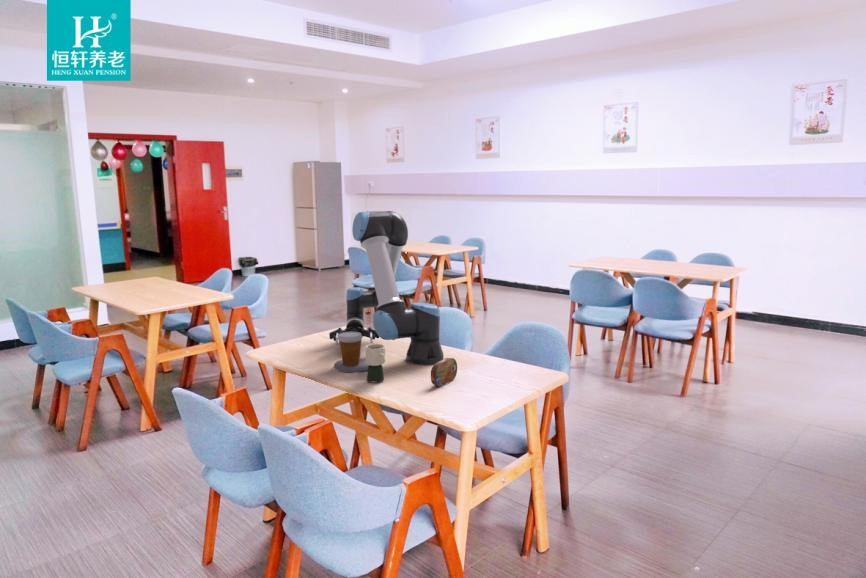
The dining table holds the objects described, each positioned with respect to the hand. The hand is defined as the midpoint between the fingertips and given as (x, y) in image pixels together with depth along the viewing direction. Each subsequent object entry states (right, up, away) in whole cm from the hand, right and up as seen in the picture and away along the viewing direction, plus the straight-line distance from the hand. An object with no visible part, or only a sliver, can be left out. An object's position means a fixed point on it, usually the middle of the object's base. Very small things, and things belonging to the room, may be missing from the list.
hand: (354, 340), depth 235 cm
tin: (+35, -14, -23) cm, 44 cm away
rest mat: (+1, -10, -4) cm, 11 cm away
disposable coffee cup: (-1, -9, -4) cm, 10 cm away
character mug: (+11, -13, -22) cm, 27 cm away
